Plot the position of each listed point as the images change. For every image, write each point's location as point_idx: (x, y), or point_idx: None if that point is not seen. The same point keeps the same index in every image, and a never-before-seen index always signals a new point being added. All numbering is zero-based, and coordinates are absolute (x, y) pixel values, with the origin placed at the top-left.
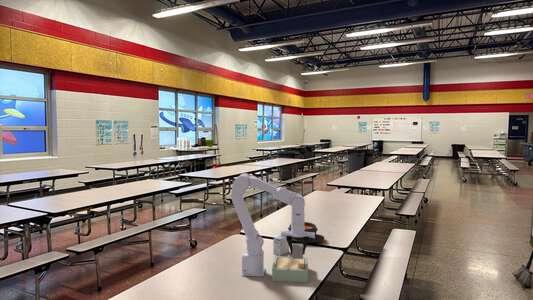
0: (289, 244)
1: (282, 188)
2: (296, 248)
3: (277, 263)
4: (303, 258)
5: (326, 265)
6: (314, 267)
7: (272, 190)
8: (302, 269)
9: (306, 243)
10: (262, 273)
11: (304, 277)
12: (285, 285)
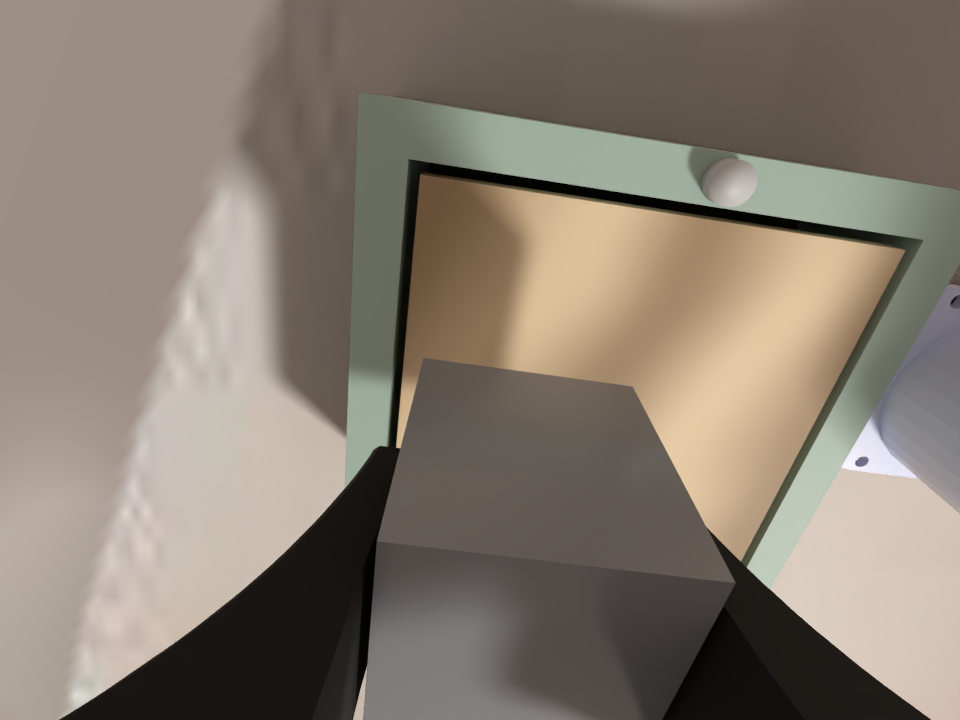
0: (867, 691)
1: None
2: (591, 536)
3: (813, 403)
4: None
5: (174, 506)
6: (298, 473)
7: None
8: (460, 162)
9: (169, 686)
10: (924, 343)
11: (439, 104)
12: (723, 19)
